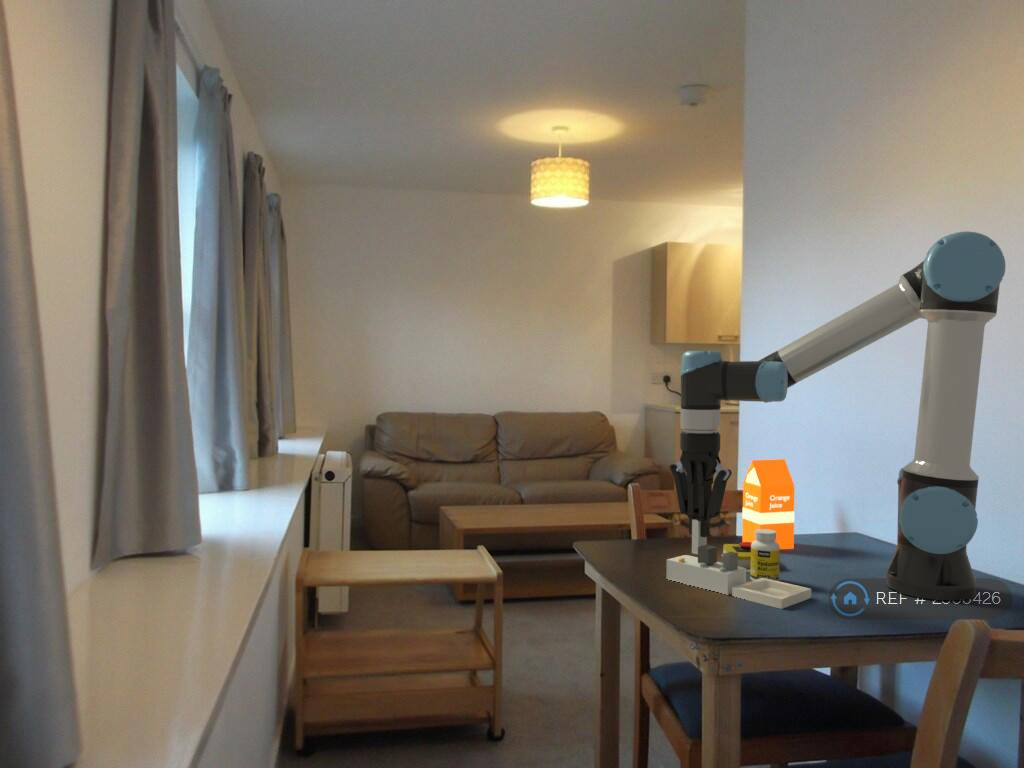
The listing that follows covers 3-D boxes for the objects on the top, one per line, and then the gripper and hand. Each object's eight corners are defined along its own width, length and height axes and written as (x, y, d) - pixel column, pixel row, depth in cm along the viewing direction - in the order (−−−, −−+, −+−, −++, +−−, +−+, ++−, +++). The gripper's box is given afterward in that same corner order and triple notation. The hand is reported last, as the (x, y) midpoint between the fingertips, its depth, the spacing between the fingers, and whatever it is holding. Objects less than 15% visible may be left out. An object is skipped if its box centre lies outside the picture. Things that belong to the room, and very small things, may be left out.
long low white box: (745, 589, 159) (746, 552, 158) (727, 595, 155) (727, 557, 154) (685, 574, 169) (685, 539, 169) (666, 579, 165) (666, 544, 165)
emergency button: (763, 537, 186) (781, 553, 171) (762, 557, 186) (781, 575, 171) (720, 536, 186) (735, 553, 171) (720, 556, 186) (735, 574, 171)
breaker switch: (716, 562, 161) (717, 547, 161) (708, 565, 160) (708, 549, 159) (706, 560, 163) (706, 544, 163) (697, 562, 161) (697, 547, 161)
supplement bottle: (754, 584, 162) (755, 534, 162) (746, 577, 167) (747, 528, 167) (783, 584, 162) (783, 534, 162) (774, 577, 167) (774, 528, 167)
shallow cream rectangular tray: (811, 597, 153) (811, 588, 153) (781, 608, 146) (781, 599, 146) (762, 586, 160) (762, 577, 160) (732, 596, 154) (732, 587, 154)
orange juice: (794, 548, 192) (795, 461, 191) (759, 550, 190) (761, 462, 189) (774, 541, 199) (776, 457, 199) (741, 543, 197) (742, 458, 196)
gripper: (740, 432, 160) (739, 555, 160) (684, 427, 169) (683, 544, 170) (717, 434, 155) (716, 562, 155) (661, 429, 164) (660, 549, 165)
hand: (699, 552), depth 163 cm, fingers closed
